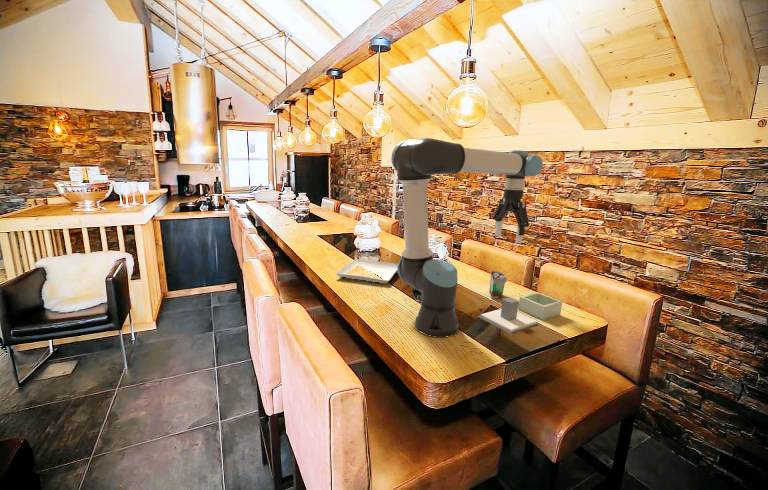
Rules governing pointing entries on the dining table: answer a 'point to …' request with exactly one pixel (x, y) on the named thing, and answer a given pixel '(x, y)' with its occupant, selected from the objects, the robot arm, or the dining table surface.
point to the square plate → (376, 267)
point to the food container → (497, 284)
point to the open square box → (540, 306)
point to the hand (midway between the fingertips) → (507, 239)
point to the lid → (509, 316)
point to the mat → (508, 331)
